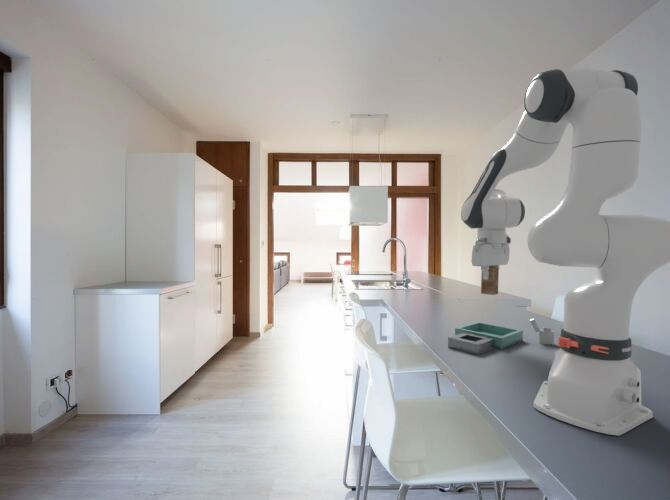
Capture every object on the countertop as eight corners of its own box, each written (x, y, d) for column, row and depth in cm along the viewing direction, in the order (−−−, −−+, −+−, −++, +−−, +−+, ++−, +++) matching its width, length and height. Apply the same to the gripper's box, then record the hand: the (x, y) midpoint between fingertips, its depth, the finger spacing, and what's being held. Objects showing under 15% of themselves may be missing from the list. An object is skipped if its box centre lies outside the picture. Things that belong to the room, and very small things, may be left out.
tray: (501, 349, 108) (502, 338, 108) (454, 338, 120) (455, 328, 120) (522, 340, 119) (523, 330, 119) (477, 331, 131) (477, 321, 131)
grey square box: (478, 354, 103) (478, 344, 103) (447, 346, 110) (448, 337, 110) (494, 348, 109) (494, 338, 109) (464, 341, 117) (464, 332, 117)
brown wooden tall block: (492, 295, 117) (493, 264, 116) (481, 293, 120) (481, 263, 119) (498, 293, 119) (498, 264, 119) (486, 292, 122) (487, 263, 122)
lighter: (552, 343, 116) (553, 319, 116) (553, 344, 114) (554, 320, 114) (528, 341, 118) (529, 317, 118) (529, 342, 117) (530, 318, 116)
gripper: (485, 237, 110) (484, 281, 110) (513, 239, 123) (512, 278, 123) (467, 237, 114) (465, 279, 115) (495, 238, 128) (494, 276, 128)
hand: (490, 278), depth 119 cm, fingers closed on brown wooden tall block, 4 cm apart
